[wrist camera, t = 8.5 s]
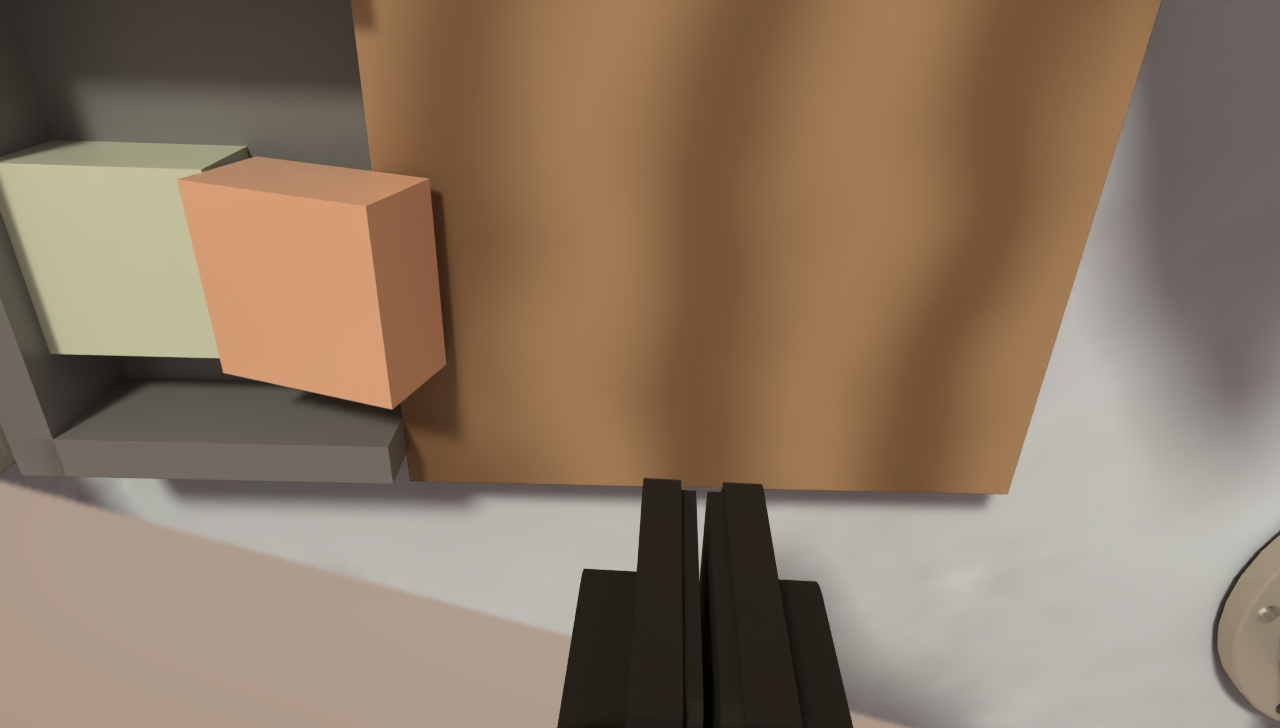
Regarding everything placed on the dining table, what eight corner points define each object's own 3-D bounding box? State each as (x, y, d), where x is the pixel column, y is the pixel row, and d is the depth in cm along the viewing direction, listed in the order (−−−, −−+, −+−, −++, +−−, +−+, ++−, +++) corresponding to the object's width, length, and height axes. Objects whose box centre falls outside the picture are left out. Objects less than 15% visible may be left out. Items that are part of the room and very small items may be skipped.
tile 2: (429, 178, 19) (365, 206, 17) (446, 364, 21) (392, 409, 19) (256, 156, 20) (176, 179, 18) (290, 333, 22) (223, 372, 20)
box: (372, -99, 19) (312, -110, 15) (426, 408, 25) (392, 483, 22) (-59, -116, 18) (-223, -132, 15) (108, 400, 25) (21, 475, 21)
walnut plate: (1106, -22, 20) (1167, -19, 17) (975, 448, 26) (1007, 494, 24) (377, -52, 19) (344, -51, 17) (428, 435, 26) (409, 481, 23)
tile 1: (246, 145, 21) (200, 169, 18) (280, 319, 23) (243, 359, 21) (53, 140, 21) (-17, 162, 18) (106, 315, 23) (50, 354, 21)
